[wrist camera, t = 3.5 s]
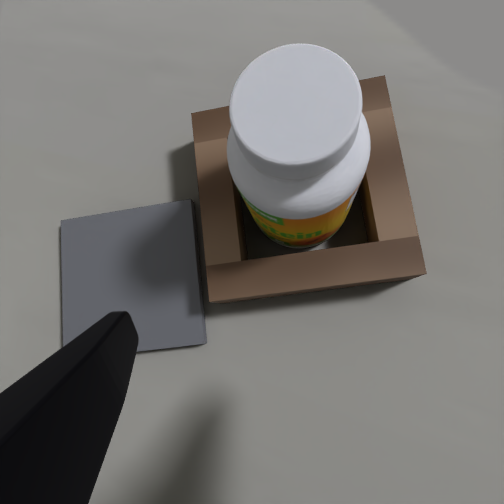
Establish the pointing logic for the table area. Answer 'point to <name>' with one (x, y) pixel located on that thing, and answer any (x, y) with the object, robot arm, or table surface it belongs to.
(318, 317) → the table surface
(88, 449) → the robot arm
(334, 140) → the supplement bottle
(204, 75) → the table surface
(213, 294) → the walnut collar
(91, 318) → the rubber mat
